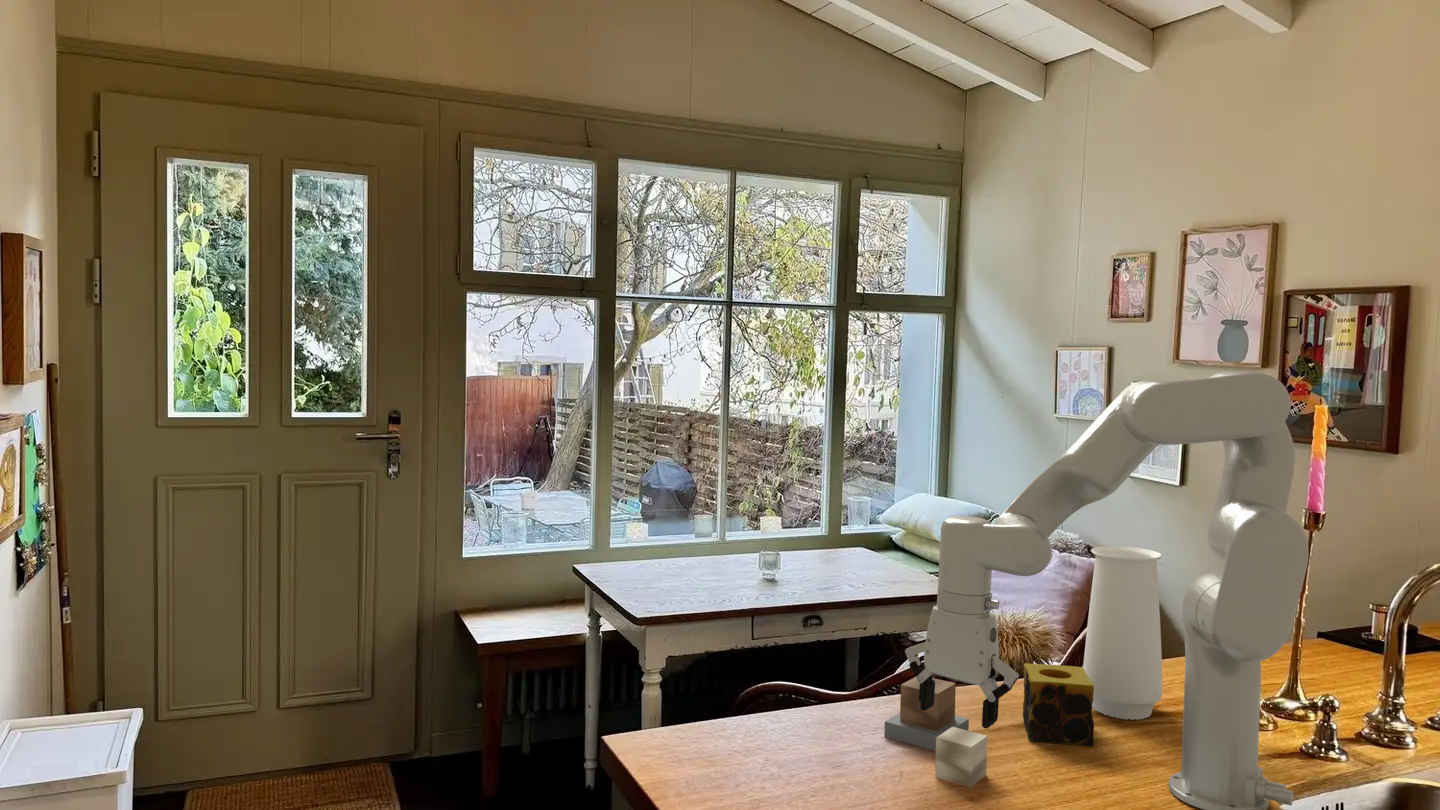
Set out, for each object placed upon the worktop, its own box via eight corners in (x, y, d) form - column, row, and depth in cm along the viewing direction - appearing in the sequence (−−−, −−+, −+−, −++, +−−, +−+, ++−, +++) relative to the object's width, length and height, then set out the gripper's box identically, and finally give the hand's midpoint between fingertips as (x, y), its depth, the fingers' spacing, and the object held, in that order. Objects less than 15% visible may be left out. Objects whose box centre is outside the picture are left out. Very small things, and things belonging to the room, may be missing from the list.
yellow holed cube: (1094, 748, 155) (1096, 686, 155) (1028, 742, 157) (1029, 681, 157) (1083, 724, 165) (1085, 666, 165) (1021, 719, 167) (1023, 661, 167)
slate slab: (968, 733, 160) (968, 718, 160) (941, 752, 153) (941, 736, 152) (913, 719, 167) (913, 704, 166) (884, 736, 159) (884, 721, 159)
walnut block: (954, 719, 160) (955, 683, 160) (936, 731, 155) (937, 693, 155) (918, 710, 164) (919, 674, 164) (900, 721, 159) (900, 684, 159)
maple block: (986, 775, 145) (987, 735, 144) (970, 788, 140) (971, 747, 140) (951, 765, 148) (952, 726, 148) (935, 777, 144) (936, 737, 143)
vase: (1171, 725, 165) (1176, 561, 164) (1090, 720, 167) (1095, 557, 166) (1149, 699, 178) (1154, 546, 176) (1075, 694, 180) (1079, 543, 178)
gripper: (1030, 608, 140) (1024, 725, 141) (921, 586, 151) (915, 695, 152) (1010, 618, 135) (1003, 740, 136) (898, 595, 145) (892, 708, 146)
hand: (957, 716), depth 144 cm, fingers open, 9 cm apart
